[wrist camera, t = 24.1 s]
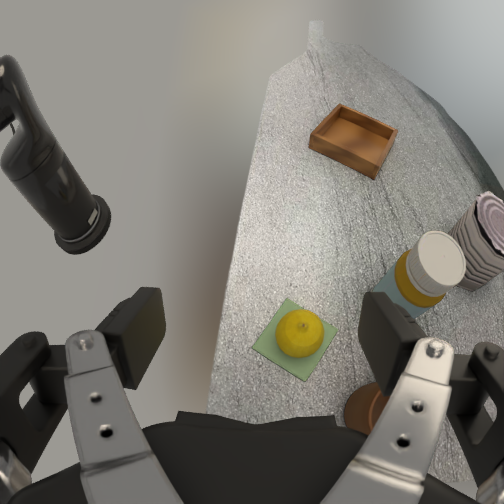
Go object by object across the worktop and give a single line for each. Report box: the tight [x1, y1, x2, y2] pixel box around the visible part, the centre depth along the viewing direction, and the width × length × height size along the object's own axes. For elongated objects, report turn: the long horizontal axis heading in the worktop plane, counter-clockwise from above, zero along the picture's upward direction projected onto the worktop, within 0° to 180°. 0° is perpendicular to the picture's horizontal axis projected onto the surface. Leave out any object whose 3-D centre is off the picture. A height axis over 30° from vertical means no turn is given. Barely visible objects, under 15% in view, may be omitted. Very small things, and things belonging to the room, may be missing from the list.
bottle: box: [372, 231, 466, 319], centre depth 31 cm, size 7×7×15 cm
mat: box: [252, 298, 338, 382], centre depth 36 cm, size 8×8×1 cm
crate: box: [309, 104, 398, 180], centre depth 52 cm, size 14×14×4 cm
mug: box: [344, 382, 390, 435], centre depth 28 cm, size 12×8×9 cm, turn 162°
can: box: [448, 191, 504, 292], centre depth 35 cm, size 11×11×12 cm
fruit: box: [275, 309, 324, 358], centre depth 32 cm, size 6×6×8 cm
